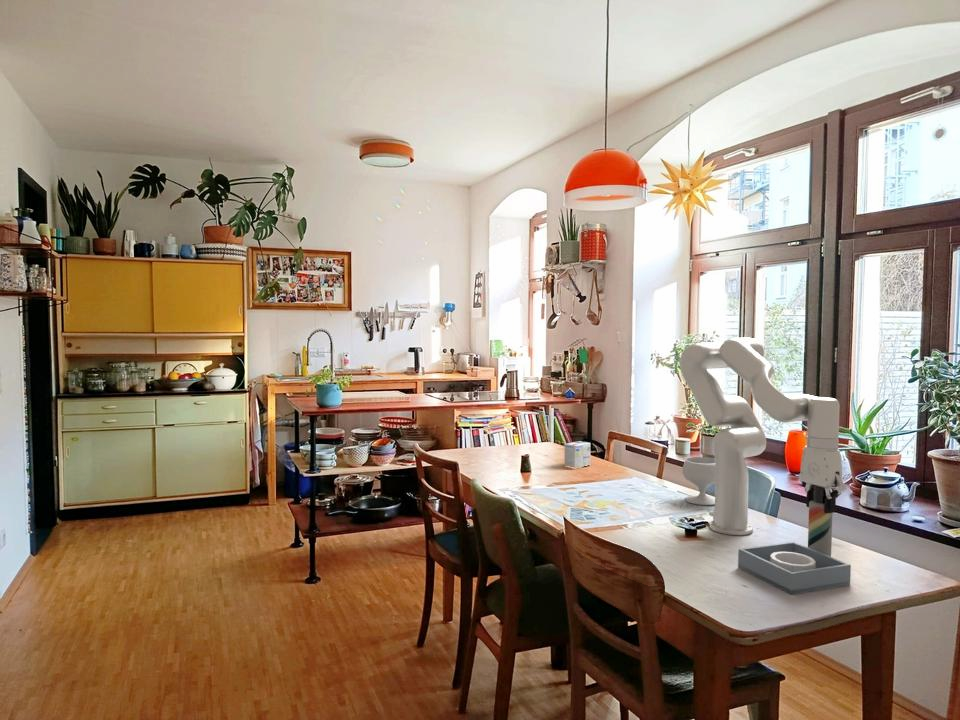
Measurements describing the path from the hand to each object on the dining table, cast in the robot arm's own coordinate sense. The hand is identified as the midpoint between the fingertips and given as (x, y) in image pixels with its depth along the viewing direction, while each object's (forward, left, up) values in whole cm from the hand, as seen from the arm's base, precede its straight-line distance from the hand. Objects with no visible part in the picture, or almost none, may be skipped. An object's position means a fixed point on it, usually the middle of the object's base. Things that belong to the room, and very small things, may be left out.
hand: (820, 508), depth 176 cm
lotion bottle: (0, 0, -14) cm, 14 cm away
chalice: (-58, +6, -14) cm, 60 cm away
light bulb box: (-124, -10, -14) cm, 125 cm away
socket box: (+8, -17, -13) cm, 23 cm away
